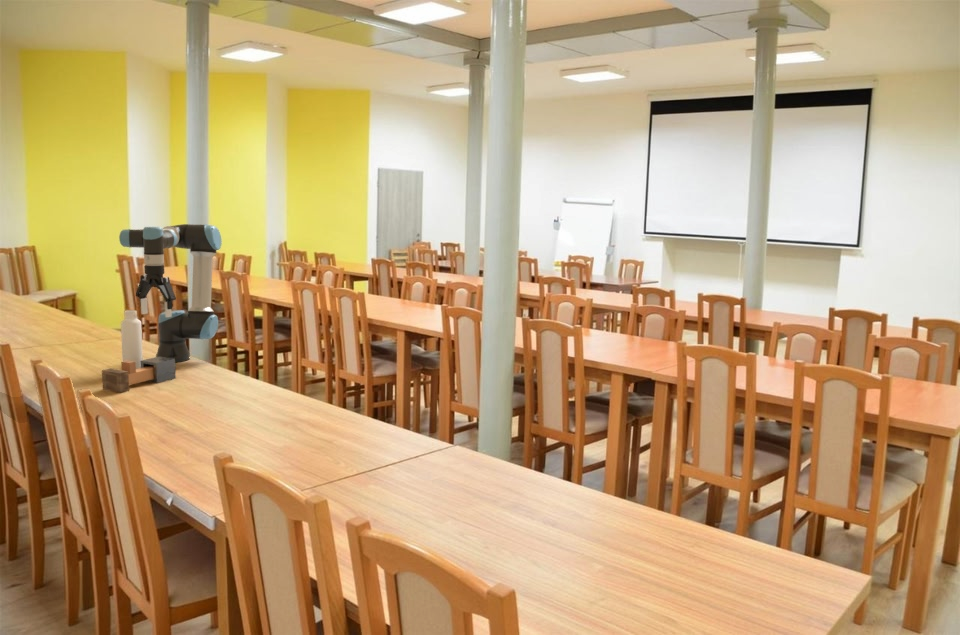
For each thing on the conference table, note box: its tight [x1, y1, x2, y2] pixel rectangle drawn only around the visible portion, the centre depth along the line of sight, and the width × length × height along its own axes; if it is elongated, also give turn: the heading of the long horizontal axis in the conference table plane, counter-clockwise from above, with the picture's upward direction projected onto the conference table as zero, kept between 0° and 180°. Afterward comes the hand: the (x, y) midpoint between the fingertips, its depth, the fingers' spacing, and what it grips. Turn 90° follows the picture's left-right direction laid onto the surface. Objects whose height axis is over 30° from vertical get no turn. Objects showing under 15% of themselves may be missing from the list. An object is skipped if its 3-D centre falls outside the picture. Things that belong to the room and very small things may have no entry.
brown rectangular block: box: [101, 368, 130, 394], centre depth 302 cm, size 4×10×8 cm, turn 66°
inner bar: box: [120, 360, 154, 386], centre depth 309 cm, size 20×4×9 cm, turn 156°
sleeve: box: [141, 356, 177, 384], centre depth 321 cm, size 10×9×9 cm
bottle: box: [120, 309, 144, 369], centre depth 327 cm, size 8×8×28 cm
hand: (156, 315), depth 314 cm, fingers open, 13 cm apart
